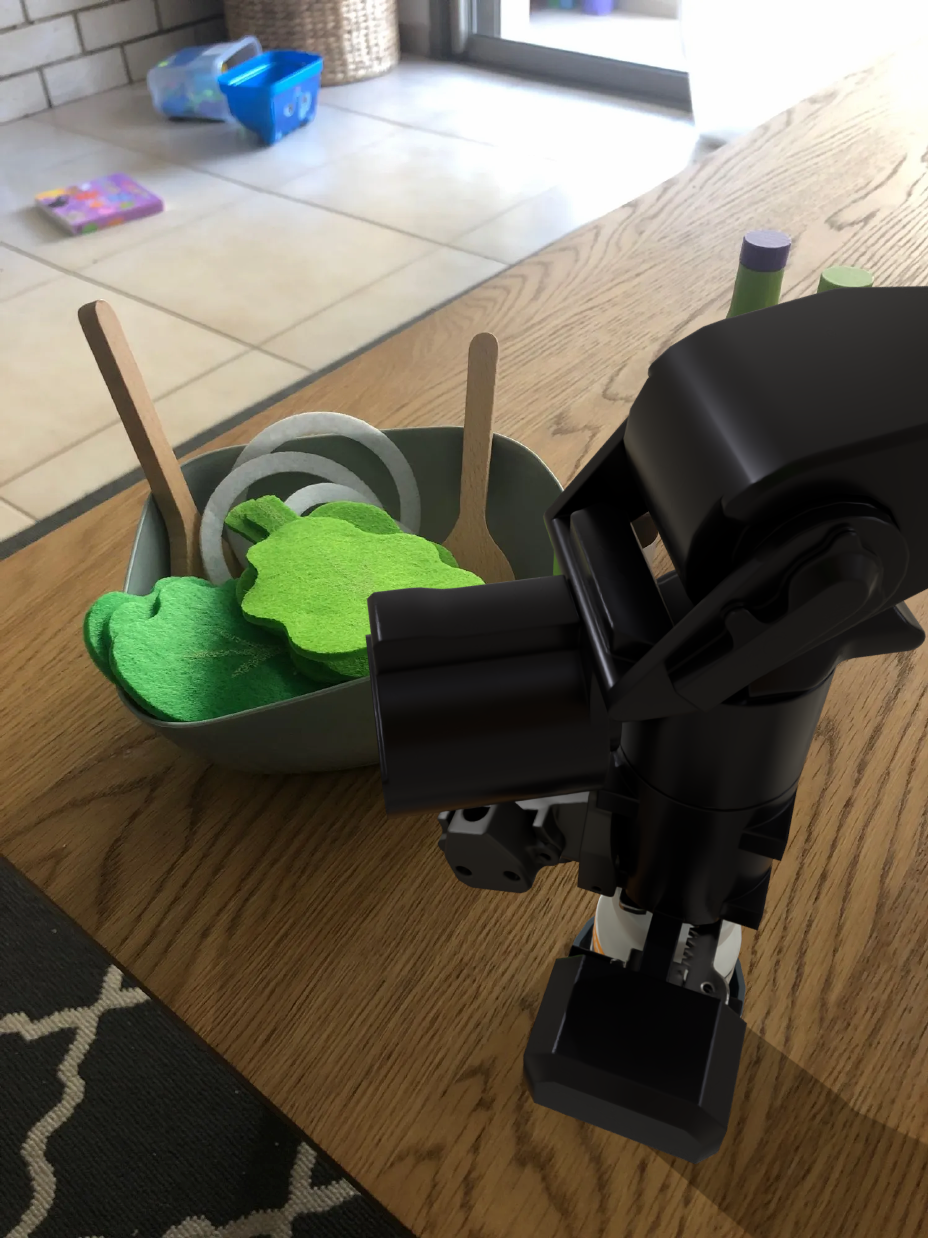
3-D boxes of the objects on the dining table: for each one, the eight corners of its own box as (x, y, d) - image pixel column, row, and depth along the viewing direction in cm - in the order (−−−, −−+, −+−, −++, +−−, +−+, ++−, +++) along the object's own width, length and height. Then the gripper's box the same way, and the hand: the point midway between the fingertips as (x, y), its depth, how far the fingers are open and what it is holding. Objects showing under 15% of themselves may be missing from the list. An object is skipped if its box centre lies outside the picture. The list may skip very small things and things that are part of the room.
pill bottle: (557, 994, 44) (566, 871, 37) (650, 920, 47) (674, 792, 40) (649, 1100, 41) (678, 987, 34) (744, 1014, 43) (789, 893, 36)
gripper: (552, 507, 40) (543, 755, 50) (343, 910, 27) (391, 1125, 38) (846, 568, 36) (769, 819, 47) (763, 1055, 24) (684, 1243, 35)
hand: (658, 974), depth 42 cm, fingers closed on pill bottle, 6 cm apart
